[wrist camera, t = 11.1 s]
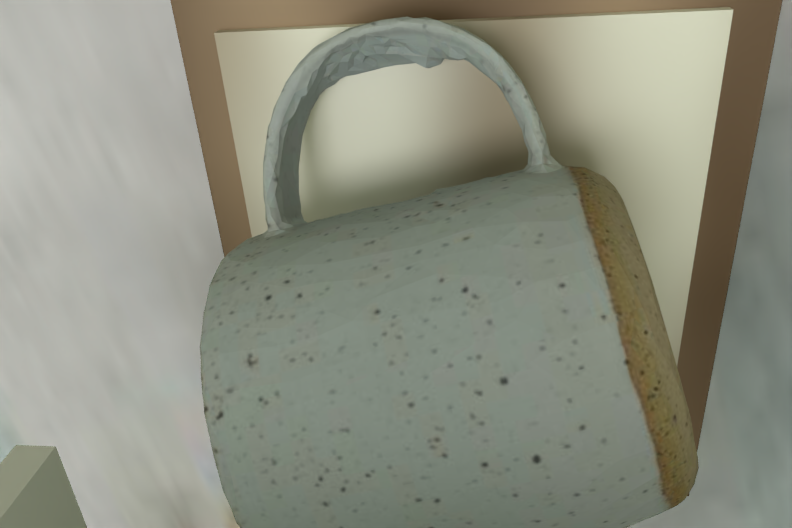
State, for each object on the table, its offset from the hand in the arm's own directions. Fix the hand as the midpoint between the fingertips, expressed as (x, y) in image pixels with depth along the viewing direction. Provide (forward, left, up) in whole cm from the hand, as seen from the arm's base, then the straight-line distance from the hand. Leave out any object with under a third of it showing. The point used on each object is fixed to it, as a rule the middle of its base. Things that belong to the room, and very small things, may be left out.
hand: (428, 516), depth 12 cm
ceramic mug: (0, +2, -8) cm, 8 cm away
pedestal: (0, 0, -14) cm, 14 cm away
